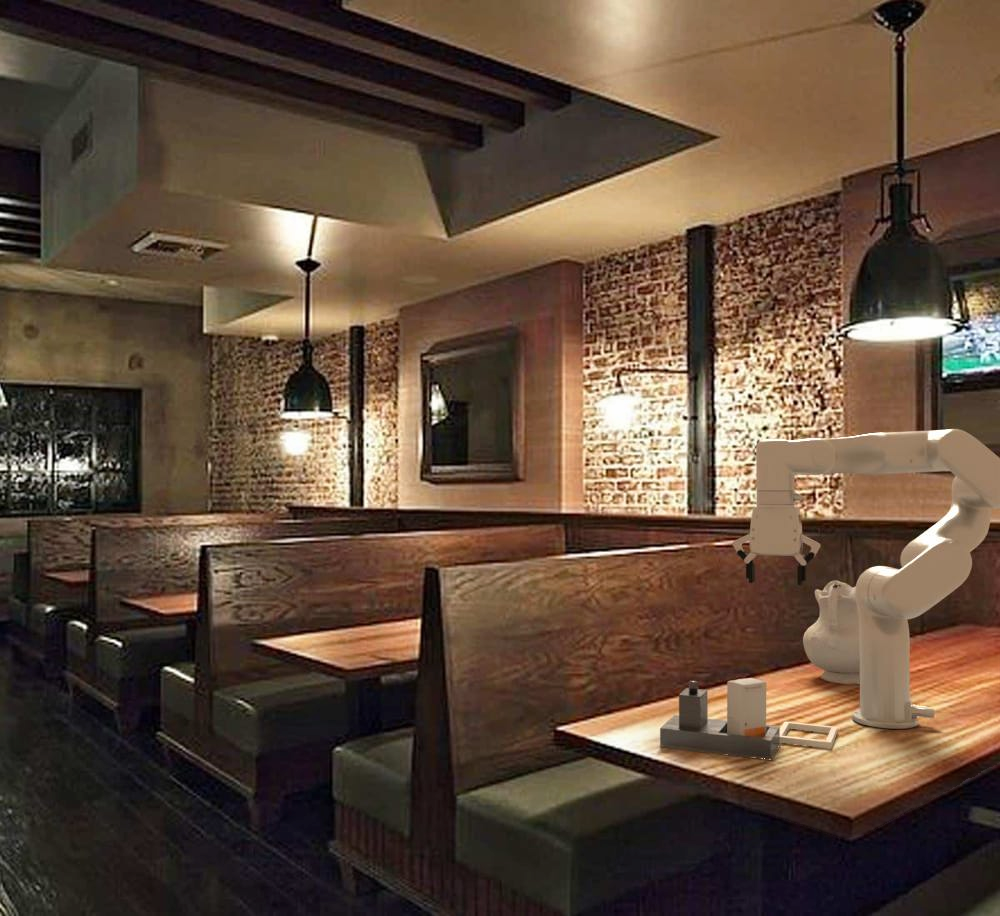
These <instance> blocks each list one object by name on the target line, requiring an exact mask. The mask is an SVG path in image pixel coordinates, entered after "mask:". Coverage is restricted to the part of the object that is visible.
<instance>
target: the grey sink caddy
mask: <svg viewBox="0 0 1000 916" xmlns="http://www.w3.org/2000/svg"><path fill="white" fill-rule="evenodd" d="M698 682H699V681H697V680H689V681H688V687H686V688H685V689H683V691H681V692H680V693H679V694H678V714H677V715H676V714H673V715H672V716H671V718H669V719H668V720H667V721H666V722H665V723H664V724H663V725H662V726H660V729H659V746H660V748H667V749H674V750H683V751H691V752H700V753H706V754H715V753H716V754H715V755H722V754H728V755H727V756H730V755H735V756H734V757H739V756H743V757H742V758H747V757H756V758H763V759H764V758H765V759H771V758H772V759H773V757H774V756H775V754H776V752H777V751H776V750H778V749H779V747H780V744H781V743H780V728H781V726H780V725H772V724H771V725H770V724H766V734H765V736H764V737H763V738H761V737H752V736H743V735H734V734H727V720H723V719H714V718H708V714H709V713H708V712H709V711H708V689H702V688H701V689H700V688H698V687H699V686H698V685H699V683H698ZM778 746H779V747H778ZM777 748H778V749H777ZM775 751H776V752H775ZM774 753H775V754H774ZM773 755H774V756H773ZM772 756H773V757H772ZM763 759H762V760H763ZM772 759H771V760H772Z"/></svg>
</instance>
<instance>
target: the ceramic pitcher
mask: <svg viewBox="0 0 1000 916" xmlns="http://www.w3.org/2000/svg"><path fill="white" fill-rule="evenodd" d="M855 591H856V586H854V587H852V586H851V585H849V584H848V583H846V582H841V581H839V580H835V579H834V580H832V581H830V582H828V583H827V584H826V585H825V586H824V588H823V590H820V589H815V590H814V595H815V596H814V597H815V600H816V601H817V603H818V606H819V607H818V608H819V617H818V619H817V620H816V621H815V622H814V623H813V624H812V625H810V626H809V627H808V628H807V629H806V631H805V632H804V634H803V637H802V643H803V644H802V645H803V647H804V652H805V655H806V657H807V658H808V660H809V661H810V663H811V664H813V666H814V667H816V668H819V669H821V670H823V671H824V672H823V673H821V675H820V676H819V678H820V679H822V680H824V681H826V682H828V683H833V684H842V685H850V686H852V685H860V629H859V615H858V609H857V603H856V592H855Z"/></svg>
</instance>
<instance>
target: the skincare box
mask: <svg viewBox="0 0 1000 916" xmlns="http://www.w3.org/2000/svg"><path fill="white" fill-rule="evenodd" d="M726 685H727V686H726V687H727V688H726V689H727V697H726V698H727V699H726V701H727V703H726V705H727V706H726V710H727V711H726V721H727V734H734V735H743V736H752V737H761V738H763V737H764V736H765V734H766V725H767V681H764V680H761V679H756V678H753V677H748V678H738V679H735V680H734V679H733V680H728V681H727V684H726Z"/></svg>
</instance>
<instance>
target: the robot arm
mask: <svg viewBox="0 0 1000 916" xmlns="http://www.w3.org/2000/svg"><path fill="white" fill-rule="evenodd" d="M755 452H756V453H755V454H756V455H755V458H756V459H755V460H756V465H755V467H756V473H755V474H756V476H755V477H756V478H755V479H756V480H755V481H756V485H755V487H756V489H755V490H756V505H755V506H753V507H752V510H751V511H752V512H751V518H750V528H749V533H747V534H746V535H743V536H741V537H739V538H738V539H735V540H733V541H732V546H733V548H734V550H735V551H736V554H737V556H739V558H741V560H742V561H743V562H744V563H745V578H746V579H747V580H748V583H749V584H753V583H754V582H755V581H756V563H755V562H754V559H755V558H756V557H758V555H759V556H779V557H780V556H783V557H784V556H786V557H787V556H788V557H789V556H793V557H794V558H795V560H796V561H797V562H798V565H797V568H796V569H797V570H796V571H797V586H802V585H804V582H807V565H808V564H809V563H810V562H811V560H813V559H814V558H815V557H816V555H817V553H818V552H819V549H820V548H821V544H820V543H819V542H817V540H816V541H815V540H813V539H811V538H810V537H808V536H806V535H804V534H803V525H802V517H801V510H800V506H796V503H797V502H801V501H803V494H800V493H797V492H796V491H795V484H796V483H795V474H796V475H799V476H819V475H820V476H821V475H824V474H860V475H861V474H862V475H888V474H891V475H892V474H905V473H906V474H911V473H913V474H914V473H934V472H951V474H953V476H955V477H954V478H953V480H952V483H951V484H952V485H951V505H950V508H949V511H948V512H947V513H945V515H944V516H943V517H942V518H941V519H940V520H939V521H938V522H936V523H935V524H934V525H932V526H931V527H929V528H928V529H927V530H925V531H924V532H923V533H921V534H920V535H919V536H917V537H916V538H914V539H913V540H911V541H910V542H909V543H908V544H907V545H905V547H904V548H903V550H902V551H901V554H900V565H901V568H899V569H898V568H897V567H896V568H895V567H890V566H887V565H886V566H884V565H877V566H876V565H875V566H872V567H869V568H868V569H865V570H864V571H863V572H862V573H861V574H860V575H859V577H858V579H857V581H856V584H855V587H856V591H855V592H856V603H857V609H858V615H859V629H860V684H859V709H856V710H854V711H852V713H851V718H852V721H854V722H856V723H858V724H861V725H863V726H864V725H865V726H868V727H873V728H880V729H892V730H893V729H895V730H903V729H904V730H905V729H912V728H914V727H917V726H918V725H919V718H918V717H921V718H927V719H935V708H931V707H928V706H924V705H923V706H919V705H916V704H915V703H913V699H912V698H911V686H910V685H911V683H910V682H911V681H910V680H911V679H910V677H911V673H910V672H911V670H910V669H911V668H910V667H911V663H910V660H911V659H910V652H911V651H910V649H911V648H910V646H911V644H910V641H911V640H910V639H911V638H910V627H909V623H908V622H909V621H908V620H911V619H915V618H918V617H919V616H921V615H923V614H924V613H925V612H928V611H929V610H930V609H931V608H933V607H934V606H935V605H937V604H938V603H940V602H941V601H942V600H943V599H945V598H947V596H949V595H950V594H951V593H953V592H955V590H956V589H958V588H959V587H960V586H961V585H963V584H964V582H966V580H967V579H968V577H969V576H970V573H971V570H972V567H973V560H972V555H971V552H972V551H973V550H975V549H976V548H977V547H978V546H980V544H981V543H982V542H983V541H985V538H986V536H987V535H988V532H989V529H990V524H991V516H992V515H991V513H992V509H995V510H997V509H1000V457H999V456H998V455H996V454H995V452H993V451H992V450H991V449H990V448H988V447H987V446H986V445H985V444H984V443H982V442H981V441H980V440H979V439H978V438H976V437H975V436H973V435H971V434H970V433H968V432H966V431H964V430H963V429H959V428H951V429H950V428H949V429H938V430H937V429H936V430H917V431H916V430H915V431H913V430H912V431H896V432H895V431H894V432H893V431H891V432H890V431H889V432H874V433H867V434H866V433H865V434H861V435H854V436H848V437H847V436H845V437H834V438H821V437H819V438H817V437H816V438H815V437H814V438H811V437H810V438H803V439H797V440H789V439H784V438H783V439H777V438H775V439H771V438H770V439H762V440H759V441H758V442H757V444H756V450H755ZM748 542H749V551H750V552H749V553H747V552H746V551H745V550H744V549H743V544H744V543H748ZM803 543H804V544H805V545H807V546H809V547H810V548H811V549H810V551H809V552H808V553H807V554H806V555H804V554H803V553H802V552H803V548H804V546H803Z"/></svg>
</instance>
